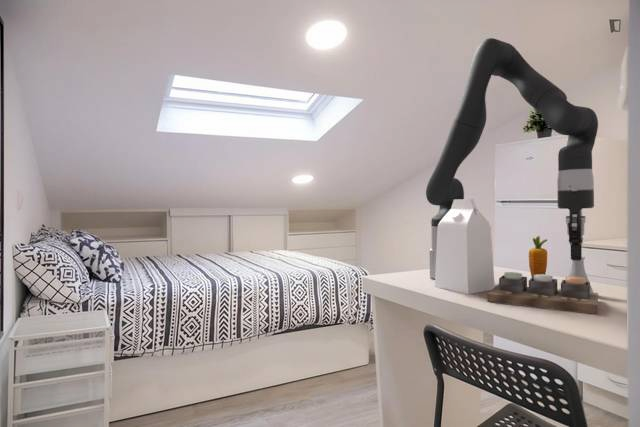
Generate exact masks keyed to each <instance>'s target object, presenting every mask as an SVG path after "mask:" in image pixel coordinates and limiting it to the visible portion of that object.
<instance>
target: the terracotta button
mask: <svg viewBox="0 0 640 427" xmlns="http://www.w3.org/2000/svg"><path fill="white" fill-rule="evenodd" d="M565 280H566V284H576V285H586V279H585V278H582V277H569V276H565Z"/></svg>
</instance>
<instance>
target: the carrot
mask: <svg viewBox="0 0 640 427" xmlns="http://www.w3.org/2000/svg"><path fill="white" fill-rule="evenodd" d="M540 238H541V236H539V235H537V236H536V238H535V237H533V238H532V242H533V244H534V247H533V248H530V249H529V251H528V262H529V264H528V265H529V270H530V271H529V272H530V276H531V278H532V277H534V275H536V274H544V275H546V272H547V266H548V251H547V249H546V248H542V245H543V244H544V243H545V242H547V241H548V239H547V238H545V239H543V240H540Z"/></svg>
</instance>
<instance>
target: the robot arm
mask: <svg viewBox="0 0 640 427" xmlns="http://www.w3.org/2000/svg"><path fill="white" fill-rule="evenodd" d="M492 76H494V77H500V78H502V79H504V80H507V81H508V82H509V83H510V84H512V85H514V86H515V87H516V88H517V90H518V92H519V94H520V95H521V97H522V99H524V101H525V102H526V103H527V104H529V105H530V106H531V107H532V108H534V110H536V111H537V112H538V113H539V114H541V116H542V118H543V120H544V121H545V123H546V124H547V125H548V126H549V127H550V128H551V130H552V131H554V132H555V133H557V134H559V135H562V136H568V137H567V141H566V145H565V146H564V147H563V146H562V147H561V148H560V149H559V151H558V153H557V154H558V155H557V160H558V162H557V165H558V167H557V168H558V169H557V170H558V171H557V179H556V180H557V181H556V182H557V183H556V184H557V190H556V191H557V208H558V209H561V210H562V209H563V210H564V209H567V210H568V211H569V215H565V224H566V230H567V231H566V232H567V236H568V243H569V245H570V259H571V261H572V260H578V261H580V260H581V259H582V257H583V255H582V254H583V253H582V250H583V249H582V245H583V240H584V238H583V236H584V235H585V224H586V215H582V213H583V212H582V211H583V209H593V208H594V207H595V190H594V189H595V183H594V181H595V179H594V173H593V149H594V146H595V142H596V139H597V135H598V134H597V133H598V129H599V121H598V116H597V113H596V112H595V111H594V110H593V108H589V107H587V106H578V105H575V104H572V103H570V101H568V96H567V95H566V93H565V92H564V91H563V90H562V89H560V87H558V86H557V85H555V83H553V82H552V81H550V80H549V79H547V78H546V77H545V76H543V75H542V74H541V73H539V72H538V71H537V70H536V69H534V68H533V67H532V66H531V65H530V63H528V62H527V60H526V59H525V58H524V57H523V56H522V54H521V53H520V52H519V51H518V50H517V48H516V47H515V46H514V45H512V44H511V43H509V42H506V41H502V40H499V39H497V38H493V37H491V38H490V37H489V38H486V39H485V40H483V41H482V42H481V43H480V44H479V46H477V48H476V50H475V52H474V55H473V59H472V61H471V65H470V68H469V73H468V76H467V80H466V85H465V88H464V91H463V93H462V94H463V95H462V97H461V100H460V103H459V104H458V105H459V106H458V109H457V111H456V113H455V116H454V119H453V121H452V124H451V126H450V129H449V133H448V136H447V139H446V141H445V144H444V146H443V149H442V152H441V154H440V157H439V159H438V162H437V163H436V165H435V168H434V170H433V171H432V174H431V176H430V178H429V180H428V183H427V185H426V188H425V189H426V190H425V196H426V197H425V198H426V200H427V201H428V203H429V204H430V205H433V206H439V210H438V212H437V213H436V215H434V216H432V217H431V220H430V222H431V223H430V224H431V248H430V249H429V279H433V280H435V272H436V249H437V228H438V224H439V222H440V221H441V220H442V218H443V217H444V216H445V215H446V214H447V213H448V211H449V210H450V209H451V207H452V204H453V201H454V199H465V190H464V185H463V184H462V182H461V181H460V180H459V179H458V178H456V177H455V176H456V173H457V171H458V169H459V167H460V166H461V164H462V163H463V162H464V161H465V159H466V158H467V157H469V155H470V154H471V153H472V152H473V151H474V149H475V148H476V147H477V145H478V143H479V142H480V140H481V137H482V134H483V131H484V129H485V127H486V123H487V105H486V97H487V96H486V94H487V88H488V87H489V86H488V85H489V83H490V80H491V78H492Z"/></svg>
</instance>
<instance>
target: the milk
mask: <svg viewBox="0 0 640 427" xmlns="http://www.w3.org/2000/svg"><path fill="white" fill-rule="evenodd" d="M492 240H493V239H492V228H491V225H490V222H489V221H488V220H487V218H486V217H485V216H484V215H483V214H482V213H481V211H479V209H478V208H477V205H476V203H475V200H474V198H467V199H466V198H464V199H454V201H453V204H452V207H451V209H450V210H449V211H448V213H447V214H446V215H445V216H444V217H443V218H442V220H441V221H440V222H439V224H438V228H437V249H436V272H435V279H434V287H435V288H438V289H443V290H448V291H452V292H456V293H461V294H465V295H470V294H474V293H481V292H487V291H491V290H492V289H494V288H495V287H496V286H495V274H494V273H495V272H494V256H493V243H492V242H493V241H492Z"/></svg>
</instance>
